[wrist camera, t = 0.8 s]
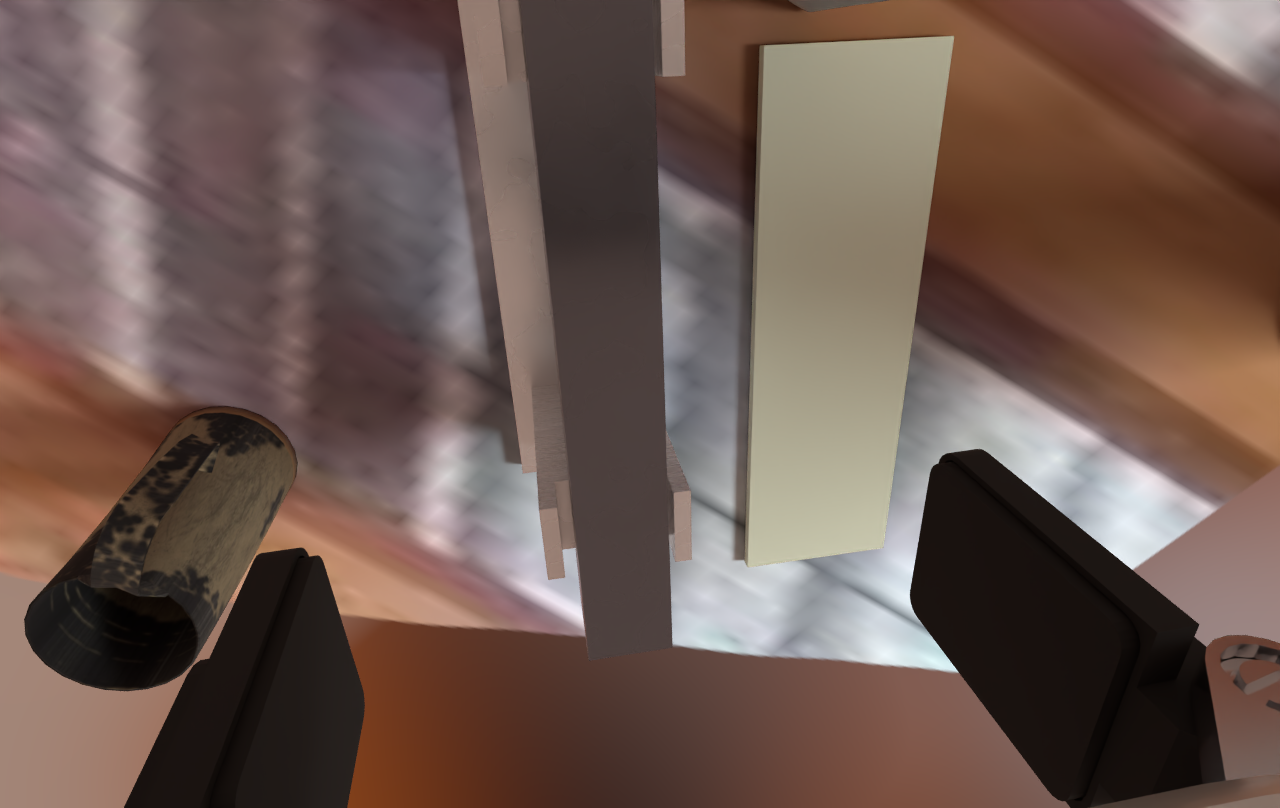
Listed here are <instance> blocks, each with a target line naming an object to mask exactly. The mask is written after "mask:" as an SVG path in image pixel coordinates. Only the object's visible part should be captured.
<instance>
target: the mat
mask: <svg viewBox="0 0 1280 808" xmlns="http://www.w3.org/2000/svg"><path fill="white" fill-rule="evenodd" d="M953 41H954V36H940V37H920V38H900V39H880V40H860V41H840V42H820V43H800V44H781V45H761V46H760V47H759V81H758V116H757V150H756V184H755V218H754V253H753V287H752V321H751V355H750V390H749V424H748V458H747V492H746V527H745V563H746V565H747V567H755V566H761V565H768V564H775V563H782V562H789V561H796V560H803V559H810V558H817V557H824V556H831V555H838V554H844V553H851V552H858V551H865V550H872V549H879V548H883V545H884V538H885V531H886V524H887V517H888V509H889V502H890V495H891V488H892V481H893V473H894V466H895V459H896V452H897V445H898V437H899V430H900V423H901V416H902V409H903V401H904V394H905V387H906V380H907V373H908V365H909V358H910V351H911V344H912V337H913V329H914V322H915V315H916V308H917V301H918V293H919V286H920V279H921V272H922V265H923V257H924V250H925V243H926V236H927V229H928V221H929V214H930V207H931V200H932V193H933V185H934V178H935V171H936V164H937V157H938V149H939V142H940V135H941V128H942V121H943V113H944V106H945V99H946V92H947V85H948V77H949V70H950V63H951V56H952V49H953Z"/></svg>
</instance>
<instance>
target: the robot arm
mask: <svg viewBox="0 0 1280 808" xmlns="http://www.w3.org/2000/svg"><path fill="white" fill-rule="evenodd" d="M910 600H911V605H912V608H913V610H914V613H915V614H916V616H917V617H918V619H919V620H920V621H921V623H922V624H923V625H924V627H925V628H926V629H927V631H928V632H929V633H930V635H931V636H932V637H933V639H934V640H935V641H936V643H937V644H938V645H939V647H940V648H941V649H942V651H943V652H944V653H945V655H946V656H947V657H948V659H949V660H950V661H951V663H952V664H953V665H954V666H955V668H956V669H957V670H958V672H959V673H960V674H961V676H962V677H963V678H964V680H965V681H966V682H967V684H968V685H969V686H970V688H971V689H972V690H973V692H974V693H975V694H976V696H977V697H978V698H979V700H980V701H981V702H982V703H983V705H984V706H985V708H986V709H987V710H988V712H989V713H990V714H991V715H992V717H993V718H994V719H995V721H996V722H997V723H998V725H999V726H1000V727H1001V729H1002V730H1003V732H1004V733H1005V734H1006V735H1007V737H1008V738H1009V739H1010V741H1011V742H1012V743H1013V745H1014V746H1015V747H1016V749H1017V750H1018V751H1019V753H1020V754H1021V755H1022V757H1023V758H1024V759H1025V761H1026V762H1027V763H1028V765H1029V766H1030V767H1031V769H1032V770H1033V771H1034V773H1035V774H1036V775H1037V777H1038V778H1039V779H1040V780H1041V782H1042V783H1043V785H1044V786H1045V787H1046V788H1047V790H1048V791H1049V792H1050V793H1051V794H1052V796H1054V797H1055V798H1056V799H1058V800H1060V801H1066V802H1067V804H1068V805H1069V806H1070V808H1280V643H1278V642H1275V641H1271V640H1269V639H1264V638H1259V637H1254V636H1248V635H1227V636H1223V637H1220V638H1217V639H1214V640H1213V641H1212V642H1211V643H1210V644H1209V645H1208V646H1207V647H1206V646H1205V645H1203V644H1202V643H1201V642H1200V641H1198V640H1197V639H1196V638H1195V637H1194V636H1195V634H1196V631H1197V629H1198V626H1199V624H1198V623H1197V622H1196V621H1194V620H1193V619H1192V618H1191V617H1189V616H1188V615H1187V614H1186V613H1184V612H1183V611H1182V610H1181V609H1180V608H1178V607H1177V606H1176V605H1174V604H1173V603H1172V602H1171V601H1170V600H1168V599H1167V598H1166V597H1165V596H1163V595H1162V594H1161V593H1160V592H1159V591H1157V590H1156V589H1155V588H1154V587H1152V586H1151V585H1150V584H1149V583H1148V582H1146V581H1145V580H1144V579H1143V578H1141V577H1140V576H1139V575H1137V574H1136V573H1135V572H1134V571H1133V570H1132V569H1130V568H1129V567H1128V566H1127V565H1125V564H1124V563H1123V562H1122V561H1120V560H1119V559H1118V558H1117V557H1116V556H1114V555H1113V554H1112V553H1111V552H1109V551H1108V550H1107V549H1106V548H1104V547H1103V546H1102V545H1101V544H1100V543H1098V542H1097V541H1096V540H1095V539H1093V538H1092V537H1091V536H1090V535H1088V534H1087V533H1086V532H1085V531H1083V530H1082V529H1081V528H1080V527H1079V526H1077V525H1076V524H1075V523H1074V522H1072V521H1071V520H1070V519H1069V518H1067V517H1066V516H1065V515H1064V514H1063V513H1061V512H1060V511H1059V510H1058V509H1056V508H1055V507H1054V506H1053V505H1051V504H1050V503H1049V502H1048V501H1047V500H1045V499H1044V498H1043V497H1042V496H1040V495H1039V494H1038V493H1037V492H1035V491H1034V490H1033V489H1032V488H1031V487H1029V486H1028V485H1027V484H1026V483H1024V482H1023V481H1022V480H1021V479H1019V478H1018V477H1017V476H1016V475H1015V474H1013V473H1012V472H1011V471H1010V470H1008V469H1007V468H1006V467H1005V466H1003V465H1002V464H1001V463H1000V462H999V461H997V460H996V459H995V458H994V457H992V456H991V455H990V454H989V453H987V452H986V451H984V450H982V449H974V450H968V451H961V452H954V453H947V454H945V455H943V456H942V457H941V459H940V460H939V464H936V465H934V466H933V467H932V469H931V472H930V477H929V483H928V489H927V495H926V500H925V506H924V512H923V518H922V524H921V530H920V536H919V542H918V548H917V554H916V560H915V566H914V572H913V578H912V584H911V590H910ZM364 706H365V705H364V693H363V689H362V685H361V682H360V678H359V675H358V672H357V669H356V666H355V662H354V659H353V656H352V653H351V650H350V646H349V643H348V640H347V636H346V633H345V630H344V627H343V624H342V620H341V617H340V614H339V611H338V608H337V604H336V601H335V598H334V595H333V591H332V588H331V585H330V582H329V579H328V575H327V572H326V569H325V566H324V563H323V560H322V559H321V557H320V556H311V557H309V555H308V553H307V552H306V550H305V549H304V548H294V549H288V550H281V551H274V552H267V553H261V554H259V555H257V556H256V558H255V559H254V561H253V564H252V566H251V568H250V570H249V572H248V575H247V577H246V579H245V581H244V583H243V586H242V588H241V590H240V592H239V594H238V597H237V599H236V601H235V603H234V605H233V608H232V610H231V612H230V614H229V616H228V619H227V621H226V623H225V625H224V627H223V630H222V632H221V634H220V636H219V638H218V641H217V643H216V645H215V647H214V649H213V652H212V654H211V656H210V658H209V659H205V660H200V661H199V662H197V663H196V664H195V665H194V666H193V667H192V669H191V670H190V672H189V673H188V675H187V677H186V678H185V681H184V683H183V685H182V687H181V689H180V691H179V693H178V695H177V697H176V699H175V702H174V704H173V706H172V708H171V710H170V712H169V714H168V716H167V719H166V720H165V723H164V725H163V727H162V729H161V731H160V733H159V735H158V737H157V739H156V741H155V743H154V746H153V748H152V750H151V752H150V754H149V756H148V758H147V760H146V762H145V765H144V767H143V769H142V771H141V773H140V775H139V777H138V779H137V781H136V783H135V785H134V787H133V790H132V792H131V794H130V796H129V798H128V800H127V802H126V804H125V806H124V808H347V805H348V800H349V794H350V789H351V783H352V778H353V773H354V767H355V761H356V756H357V750H358V745H359V740H360V734H361V729H362V723H363V718H364Z"/></svg>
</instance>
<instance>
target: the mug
mask: <svg viewBox="0 0 1280 808" xmlns="http://www.w3.org/2000/svg"><path fill="white" fill-rule="evenodd" d="M296 472H297V459H296V454H295V450H294V448H293V446H292V444H291V443H290V441H289V439H288V437H287V436H286V435H285V434H284V433H283V432H282V431H281V430H280V429H279V428H278V427H277V426H276V425H275V424H274V423H272V422H271V421H269V420H268V419H266V418H264V417H263V416H261V415H259V414H256V413H253V412H251V411H248V410H246V409H240V408H234V407H228V406H223V407H208V408H205V409H201V410H198V411H194V412H192V413H191V414H189V415H187V416H186V417H184V418H182V419H181V420H180V421H179V422H178V423H177V424H176V425H175V426H174V428H173V429H172V430H171V431H170V432H169V434H168V435H167V436H166V438H165V439H164V441H163V442H162V443H161V445H160V446H159V448H158V449H157V450H156V452H155V453H154V455H153V456H152V457H151V459H150V460H149V462H148V463H147V464H146V466H145V467H144V468H143V470H142V471H141V472H140V474H139V475H138V476H137V477H136V479H135V480H134V481H133V483H132V484H131V485H130V486H129V488H128V489H127V490H126V492H125V493H124V494H123V495H122V497H121V498H120V499H119V501H118V502H117V503H116V504H115V506H114V507H113V508H112V509H111V511H110V512H109V513H108V515H107V516H106V517H105V518H104V519H103V521H102V522H101V523H100V524H99V525H98V527H97V528H96V529H95V530H94V531H93V533H92V534H91V535H90V536H89V537H88V538H87V540H86V541H85V542H84V543H83V544H82V546H81V547H80V548H79V549H78V550H77V552H76V553H75V554H74V555H73V556H72V558H71V559H70V560H69V561H68V562H67V564H66V565H65V566H64V567H63V568H62V569H61V570H60V571H59V572H58V573H57V575H56V576H55V577H54V578H53V579H52V580H51V581H50V582H49V583H48V584H47V586H46V587H45V588H44V589H43V590H42V591H41V592H40V594H38V596H37V597H36V598H35V599H34V600H33V601H32V602H31V604H30V605H29V608H28V610H27V614H26V616H25V619H24V621H25V635H26V637H27V639H28V642H29V644H30V646H31V648H32V649H33V651H34V652H35V653H36V654H37V656H38V657H39V658H40V659H41V660H42V661H43V662H44V663H45V664H46V665H47V666H48V667H50V668H52V669H53V670H54V671H56V672H57V673H59V674H60V675H62V676H64V677H66V678H68V679H71V680H73V681H75V682H78V683H80V684H82V685H86V686H91V687H95V688H99V689H104V690H116V691H133V690H143V689H149V688H153V687H156V686H159V685H162V684H166V683H168V682H170V681H171V680H173V679H175V678H177V677H179V676H180V675H182V674H183V673H184V672H185V671H186V670H187V669H188V668H189V667H190V666H191V665H192V664H193V662H194V661H195V659H196V658H197V656H198V654H199V652H200V651H201V649H202V647H203V646H204V644H205V642H206V641H207V639H208V637H209V636H210V634H211V632H212V630H213V629H214V627H215V625H216V624H217V622H218V620H219V618H220V616H221V615H222V613H223V611H224V609H225V608H226V606H227V604H228V602H229V600H230V599H231V597H232V595H233V593H234V591H235V590H236V588H237V586H238V584H239V583H240V581H241V579H242V577H243V575H244V574H245V572H246V570H247V568H248V566H249V564H250V563H251V561H252V559H253V557H254V555H255V553H256V551H257V550H258V548H259V546H260V544H261V542H262V540H263V538H264V537H265V535H266V533H267V531H268V529H269V527H270V525H271V524H272V522H273V520H274V518H275V516H276V514H277V512H278V510H279V508H280V506H281V504H282V502H283V500H284V498H285V496H286V494H287V493H288V491H289V489H290V488H291V486H292V483H293V481H294V479H295V477H296Z"/></svg>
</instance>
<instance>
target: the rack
mask: <svg viewBox="0 0 1280 808" xmlns="http://www.w3.org/2000/svg"><path fill="white" fill-rule="evenodd" d="M457 1H458V8H459V15H460V22H461V29H462V37H463V44H464V51H465V58H466V66H467V73H468V80H469V87H470V94H471V102H472V109H473V116H474V123H475V130H476V138H477V145H478V152H479V159H480V167H481V174H482V181H483V188H484V195H485V203H486V210H487V217H488V224H489V231H490V239H491V246H492V253H493V260H494V267H495V275H496V282H497V289H498V296H499V304H500V311H501V318H502V325H503V332H504V340H505V347H506V354H507V361H508V368H509V376H510V383H511V390H512V397H513V404H514V412H515V419H516V426H517V433H518V441H519V448H520V455H521V462H522V469H523V473H529V472H537V484H538V500H539V513H540V520H541V528H542V536H543V543H544V551H545V559H546V567H547V574H548V580H551V579H558V578H565V571H564V562H563V552H562V549H570V548H575V538H574V529H573V519H572V510H571V500H570V491H569V481H568V472H567V462H566V453H565V443H564V434H563V424H562V415H561V405H560V396H559V386H558V377H557V367H556V357H555V348H554V338H553V329H552V319H551V310H550V300H549V291H548V281H547V272H546V262H545V253H544V243H543V234H542V224H541V215H540V205H539V196H538V186H537V177H536V167H535V158H534V148H533V139H532V129H531V120H530V110H529V101H528V91H527V82H526V72H525V63H524V53H523V44H522V34H521V25H520V15H519V6H518V0H457ZM652 2H653V34H654V67H655V75H656V76H661V77H669V76H685V20H684V0H652ZM666 457H667V489H668V521H669V543H670V547H671V550H672V553H673V556H674V559H675V562H678V561H685V560H692V551H691V490H690V488H689V485H688V483H687V480H686V478H685V475H684V473H683V470H682V468H681V466H680V463H679V461H678V458H677V456H676V453H675V451H674V449H673V446H672V444H671V441H670V439H669V436H668V434H667V431H666Z"/></svg>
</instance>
